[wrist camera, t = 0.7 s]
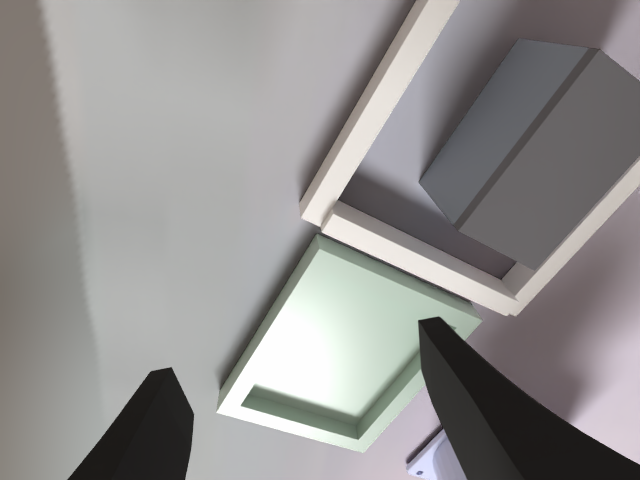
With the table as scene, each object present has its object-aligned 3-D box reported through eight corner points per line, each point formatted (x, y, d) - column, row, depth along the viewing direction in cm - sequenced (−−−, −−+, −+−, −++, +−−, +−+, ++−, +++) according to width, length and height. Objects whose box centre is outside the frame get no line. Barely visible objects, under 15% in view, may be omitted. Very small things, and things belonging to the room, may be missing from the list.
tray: (471, 303, 24) (482, 320, 22) (359, 432, 28) (363, 453, 27) (316, 233, 20) (319, 248, 19) (219, 391, 25) (216, 412, 24)
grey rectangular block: (583, 87, 18) (678, 112, 14) (481, 216, 21) (534, 271, 17) (517, 37, 17) (599, 49, 13) (417, 181, 20) (458, 231, 15)
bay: (676, 107, 19) (716, 117, 17) (502, 299, 24) (520, 322, 22) (456, -70, 15) (480, -81, 13) (299, 204, 20) (301, 223, 18)
